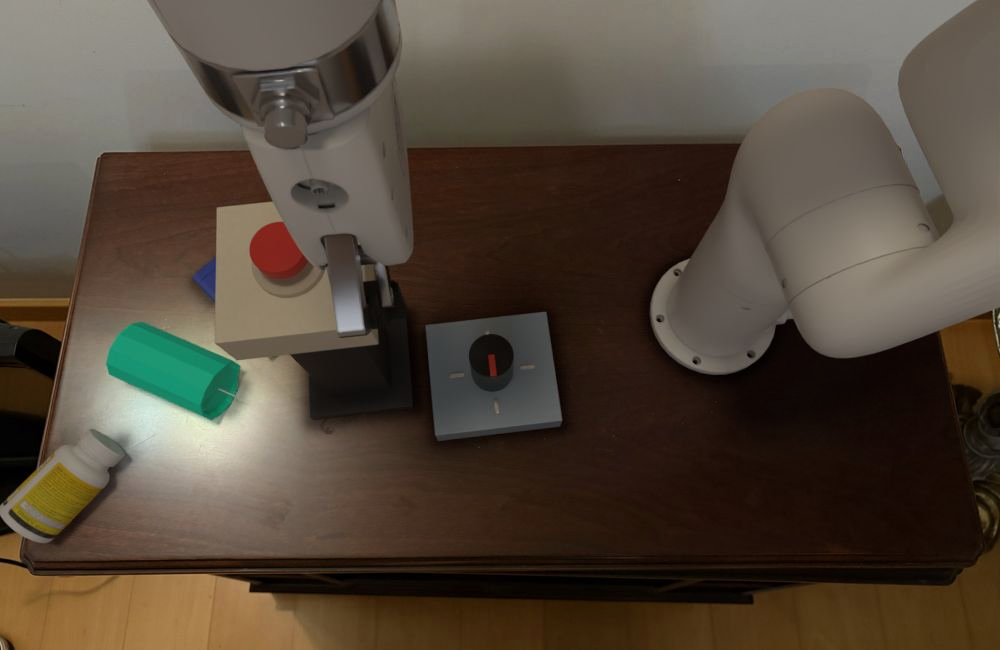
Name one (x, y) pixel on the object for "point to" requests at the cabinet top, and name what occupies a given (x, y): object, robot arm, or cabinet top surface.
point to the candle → (174, 369)
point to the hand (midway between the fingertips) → (374, 237)
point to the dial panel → (502, 411)
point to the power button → (276, 252)
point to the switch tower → (304, 325)
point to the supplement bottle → (61, 487)
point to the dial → (491, 362)
